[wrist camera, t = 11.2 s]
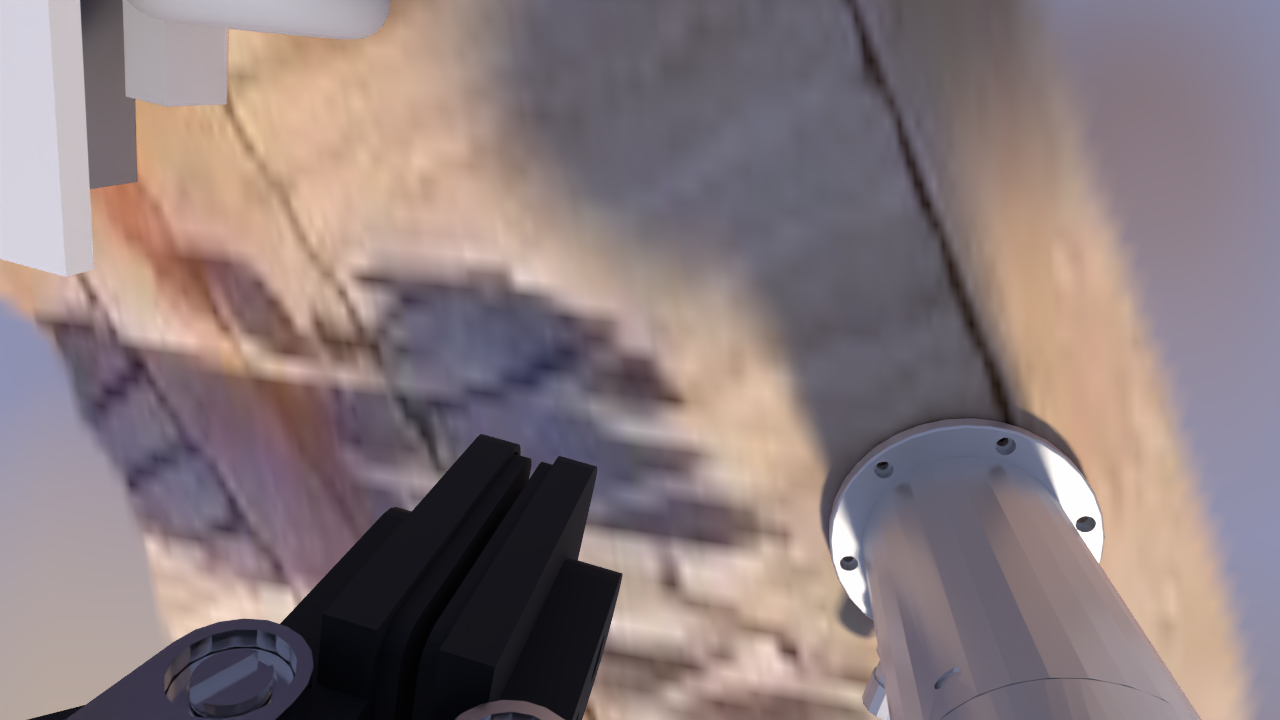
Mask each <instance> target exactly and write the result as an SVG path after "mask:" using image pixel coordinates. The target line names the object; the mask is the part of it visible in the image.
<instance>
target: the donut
mask: <svg viewBox="0 0 1280 720" xmlns="http://www.w3.org/2000/svg"><path fill="white" fill-rule="evenodd" d="M127 1H128V2H129V3H130V4H131V5H132V6H133V7H134V8H135V9H137V10H139V11H141V12H142V13H144V14H146V15H148V16H150V17H152V18H157V19H161V20H165V21H169V22H175V23H183V24H191V25H199V26H208V27H217V28H226V29H235V30H245V31H255V32H265V33H276V34H286V35H297V36H308V37H321V38H334V39H363V38H366V37H368V36H370V35H373V34H375V33H376V32H377V31H378V30H379V29H380V28H381V27H382V26H383V25H384V23H385V21H386V19H387V17H388V15H389V8H390V0H127Z"/></svg>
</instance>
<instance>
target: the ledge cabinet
mask: <svg viewBox="0 0 1280 720" xmlns="http://www.w3.org/2000/svg"><path fill="white" fill-rule="evenodd" d="M227 77H228V29H226V28H217V27H208V26H199V25H191V24H183V23H175V22H169V21H165V20H161V19H157V18H152V17H150V16H148V15H146V14H144V13H142V12H141V11H139V10H137V9H135V8H134V7H133V6H132V5H131V4H130V3H129V2H128V1H127V0H0V259H2V260H6V261H10V262H13V263H17V264H21V265H24V266H28V267H32V268H35V269H39V270H43V271H46V272H50V273H54V274H57V275H61V276H65V277H67V276H71V275H75V274H79V273H82V272H86V271H90V270H93V269H94V263H93V244H92V224H91V205H90V189H94V188H100V187H107V186H113V185H120V184H126V183H132V182H137V160H136V125H135V99H138V100H142V101H146V102H150V103H154V104H158V105H162V106H166V107H171V106H196V105H221V104H227Z"/></svg>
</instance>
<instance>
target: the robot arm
mask: <svg viewBox="0 0 1280 720" xmlns="http://www.w3.org/2000/svg"><path fill="white" fill-rule="evenodd" d="M1002 438H1006V439H1005V440H1004V441H1003V442H998V440H1000V439H1002ZM880 462H887V463H886V464H885V465H878V463H880ZM530 470H531V459H530V458H527V457H523V456H520V445H519V444H515V443H512V442H508V441H505V440H501V439H497V438H494V437H490V436H487V435H483V434H481V435H479V436H478V437H477V438H476V439H475V440H474V442H473V443H472V444H471V445H470V446H469V447H468V448H467V449H466V451H465V452H464V453H463V454H462V455H461V456H460V457H459V459H458V460H457V461H456V462H455V463H454V464H453V465H452V467H451V468H450V469H449V470H448V471H447V472H446V473H445V475H444V476H443V477H442V478H441V479H440V480H439V481H438V483H437V484H436V485H435V486H434V487H433V488H432V489H431V490H430V492H429V493H428V494H427V495H426V496H425V497H424V498H423V500H422V501H421V502H420V503H419V504H418V505H417V506H416V508H415V509H414V510H413V511H412V512H411V511H408V510H405V509H401V508H398V507H394V508H390V509H389V510H388V511H387V512H385V513H384V514H383V515H382V516H381V517H380V518H379V519H378V520H377V521H376V523H375V524H374V525H373V526H372V527H371V528H370V529H369V530H368V531H367V532H366V533H365V534H364V535H363V536H362V537H361V538H360V540H359V541H358V542H357V543H356V544H355V545H354V546H353V547H352V548H351V549H350V550H349V551H348V552H347V553H346V554H345V555H344V557H343V558H342V559H341V560H340V561H339V562H338V563H337V564H336V565H335V566H334V567H333V568H332V569H331V570H330V571H329V573H328V574H327V575H326V576H325V577H324V578H323V579H322V580H321V581H320V582H319V583H318V584H317V585H316V586H315V587H314V588H313V590H312V591H311V592H310V593H309V594H308V595H307V596H306V597H305V598H304V599H303V600H302V601H301V602H300V603H299V604H298V605H297V607H296V608H295V609H294V610H293V611H292V612H291V613H290V614H289V615H288V616H287V617H286V618H285V619H284V620H283V621H282V622H281V624H278V623H274V622H271V621H268V620H255V619H238V620H231V621H223V622H218V623H215V624H212V625H209V626H206V627H203V628H199V629H196V630H194V631H192V632H191V633H189V634H187V635H185V636H183V637H182V638H180V639H178V640H176V641H175V642H173V643H172V644H170V645H169V646H167V647H166V648H165V649H163V650H162V651H160V652H159V653H158V654H156V655H155V656H153V657H152V658H151V659H149V660H148V661H146V662H145V663H144V664H142V665H141V666H139V667H138V668H137V669H135V670H134V671H132V672H131V673H130V674H128V675H127V676H125V677H124V678H123V679H121V680H120V681H118V682H117V683H116V684H114V685H113V686H111V687H110V688H109V689H107V690H106V691H104V692H103V693H102V694H100V695H99V696H97V697H96V698H95V699H93V700H92V701H90V702H89V703H88V704H86V705H83V706H80V707H76V708H72V709H68V710H64V711H60V712H56V713H52V714H48V715H44V716H40V717H36V718H32V719H29V720H582V718H583V715H584V712H585V709H586V706H587V703H588V699H589V696H590V693H591V690H592V687H593V684H594V681H595V677H596V674H597V671H598V667H599V664H600V661H601V657H602V654H603V650H604V647H605V643H606V639H607V636H608V632H609V628H610V624H611V621H612V617H613V613H614V609H615V605H616V601H617V597H618V593H619V588H620V584H621V580H622V573H618V572H615V571H612V570H608V569H605V568H601V567H598V566H595V565H591V564H588V563H584V562H581V561H578V556H579V552H580V547H581V543H582V538H583V534H584V529H585V525H586V520H587V516H588V511H589V507H590V502H591V498H592V493H593V489H594V484H595V480H596V475H597V467H596V466H593V465H589V464H586V463H582V462H579V461H575V460H572V459H568V458H565V457H561V456H559V457H558V458H557V459H556V461H555V462H554V464H553V465H551V464H548V463H544V462H541V463H540V464H539V465H538V467H537V468H536V470H535V472H534V473H533V475H532V476H531V478H530V479H529V475H530ZM1080 517H1081V518H1080ZM1104 538H1105V535H1104V525H1103V515H1102V512H1101V509H1100V506H1099V504H1098V501H1097V498H1096V495H1095V493H1094V491H1093V490H1092V488H1091V487H1090V485H1089V483H1088V482H1087V480H1086V479H1085V477H1084V476H1083V474H1082V473H1081V472H1080V470H1079V469H1078V468H1077V467H1076V466H1075V465H1074V463H1073V462H1072V461H1071V460H1070V459H1069V457H1068V456H1066V455H1065V454H1064V453H1063V452H1061V451H1060V450H1059V449H1058V448H1056V447H1055V446H1054V445H1053V444H1051V443H1050V442H1049V441H1047V440H1045V439H1043V438H1041V437H1039V436H1038V435H1036V434H1034V433H1032V432H1030V431H1028V430H1026V429H1023V428H1020V427H1016V426H1013V425H1010V424H1007V423H1003V422H1000V421H992V420H984V419H976V418H966V419H946V420H941V421H936V422H931V423H926V424H921V425H919V426H916V427H913V428H911V429H908V430H906V431H903V432H900V433H898V434H896V435H894V436H892V437H891V438H889V439H887V440H886V441H884V442H882V443H881V444H879V445H877V446H876V447H874V448H873V449H872V450H871V451H870V452H869V453H868V454H867V455H865V456H864V457H863V458H862V459H861V460H860V461H859V462H858V463H857V464H856V465H855V466H854V468H853V469H852V470H851V472H850V473H849V474H848V475H847V477H846V478H845V479H844V481H843V483H842V485H841V487H840V489H839V491H838V493H837V495H836V497H835V499H834V502H833V507H832V511H831V515H830V519H829V544H830V551H831V559H832V563H833V566H834V569H835V572H836V575H837V578H838V580H839V582H840V583H841V585H842V587H843V588H844V590H845V592H846V594H847V595H848V597H849V598H850V599H851V600H852V602H853V603H854V604H855V605H856V606H857V607H858V608H859V609H860V610H861V611H862V613H863V614H865V615H866V616H867V617H869V618H870V619H871V620H872V621H874V626H875V632H876V638H877V649H876V650H877V653H878V655H879V657H880V661H879V663H878V665H877V667H876V668H875V669H874V670H873V672H872V674H871V677H870V679H869V682H868V684H867V686H866V689H865V691H864V694H863V696H862V699H863V704H864V705H865V707H866V708H867V710H868V711H869V712H871V713H872V714H873V715H875V716H876V717H878V718H881V719H884V720H1201V718H1200V717H1199V715H1198V714H1197V712H1196V711H1195V709H1194V708H1193V706H1192V705H1191V703H1190V702H1189V700H1188V699H1187V697H1186V696H1185V694H1184V692H1183V691H1182V689H1181V688H1180V686H1179V685H1178V683H1177V682H1176V680H1175V679H1174V677H1173V676H1172V674H1171V673H1170V671H1169V670H1168V668H1167V667H1166V665H1165V663H1164V662H1163V660H1162V659H1161V657H1160V656H1159V654H1158V653H1157V651H1156V650H1155V648H1154V647H1153V645H1152V644H1151V642H1150V641H1149V639H1148V638H1147V636H1146V635H1145V633H1144V631H1143V630H1142V628H1141V627H1140V625H1139V624H1138V622H1137V621H1136V619H1135V618H1134V616H1133V615H1132V613H1131V612H1130V610H1129V609H1128V607H1127V606H1126V604H1125V602H1124V601H1123V599H1122V598H1121V596H1120V595H1119V593H1118V592H1117V590H1116V589H1115V587H1114V586H1113V584H1112V583H1111V581H1110V580H1109V578H1108V577H1107V575H1106V573H1105V572H1104V570H1103V569H1102V567H1101V566H1100V562H1101V559H1102V552H1103V545H1104ZM846 556H850V557H846Z"/></svg>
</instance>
